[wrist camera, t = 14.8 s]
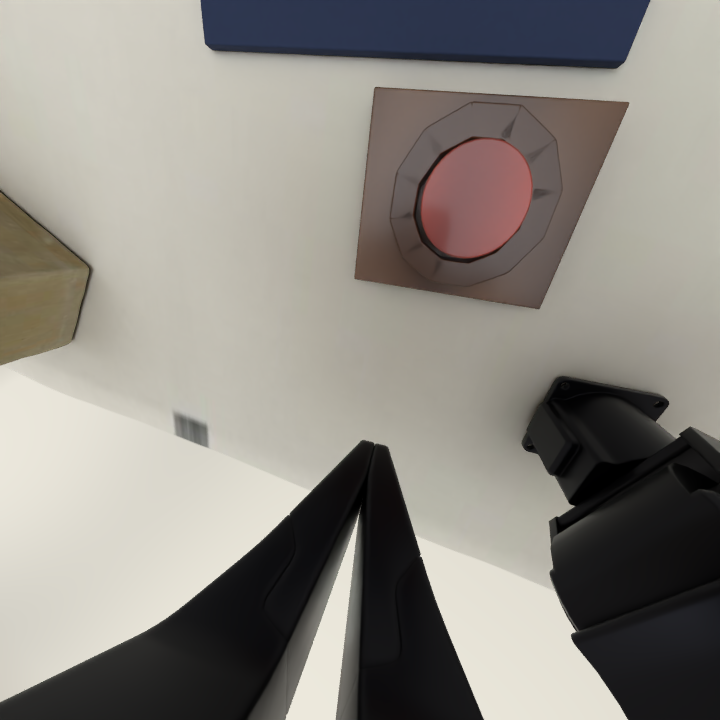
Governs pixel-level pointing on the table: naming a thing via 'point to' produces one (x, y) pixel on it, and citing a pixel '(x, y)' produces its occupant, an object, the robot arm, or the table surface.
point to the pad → (431, 29)
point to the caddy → (35, 287)
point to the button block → (436, 139)
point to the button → (476, 198)
